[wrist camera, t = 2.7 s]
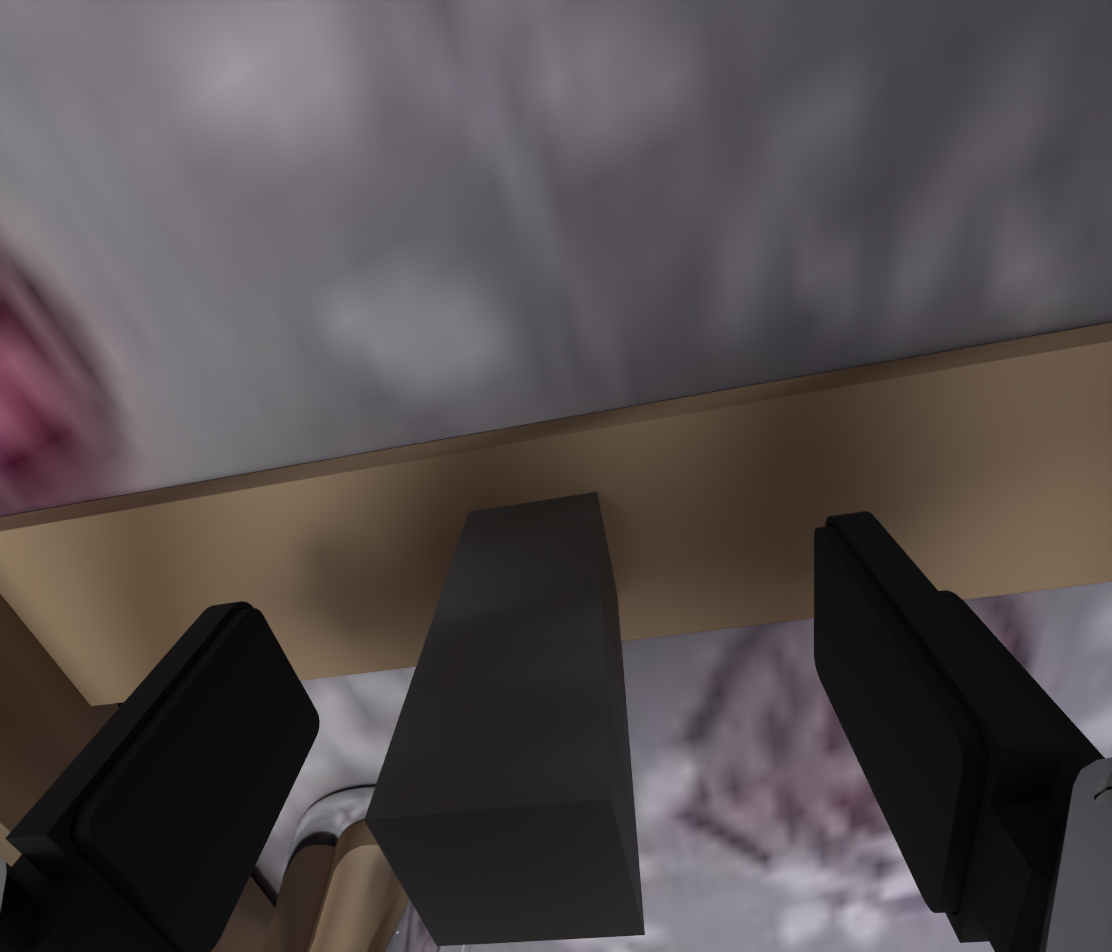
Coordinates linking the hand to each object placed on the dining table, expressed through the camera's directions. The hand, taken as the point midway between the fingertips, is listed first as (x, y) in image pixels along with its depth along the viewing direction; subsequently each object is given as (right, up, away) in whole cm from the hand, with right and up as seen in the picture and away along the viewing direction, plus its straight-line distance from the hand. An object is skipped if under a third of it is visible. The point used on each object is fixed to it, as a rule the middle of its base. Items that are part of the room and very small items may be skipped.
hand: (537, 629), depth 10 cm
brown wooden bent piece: (0, -4, +5) cm, 7 cm away
